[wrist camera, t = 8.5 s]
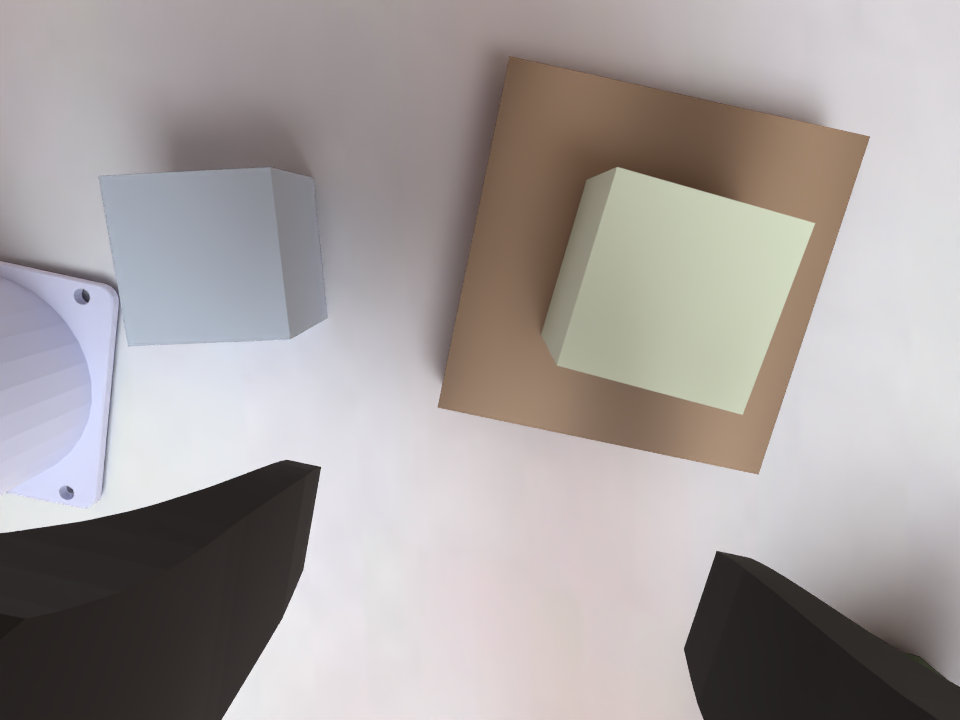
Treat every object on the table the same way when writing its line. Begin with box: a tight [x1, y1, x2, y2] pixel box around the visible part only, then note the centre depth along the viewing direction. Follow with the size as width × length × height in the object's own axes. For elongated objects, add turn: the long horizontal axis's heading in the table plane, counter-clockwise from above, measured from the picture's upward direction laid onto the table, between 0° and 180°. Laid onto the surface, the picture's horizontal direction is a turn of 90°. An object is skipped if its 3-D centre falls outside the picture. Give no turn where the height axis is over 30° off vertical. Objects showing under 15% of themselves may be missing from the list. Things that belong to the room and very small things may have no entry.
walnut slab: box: [438, 56, 870, 474], centre depth 19 cm, size 10×10×3 cm
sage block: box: [541, 167, 815, 415], centre depth 16 cm, size 4×4×4 cm
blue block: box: [99, 167, 327, 346], centre depth 18 cm, size 4×4×4 cm
